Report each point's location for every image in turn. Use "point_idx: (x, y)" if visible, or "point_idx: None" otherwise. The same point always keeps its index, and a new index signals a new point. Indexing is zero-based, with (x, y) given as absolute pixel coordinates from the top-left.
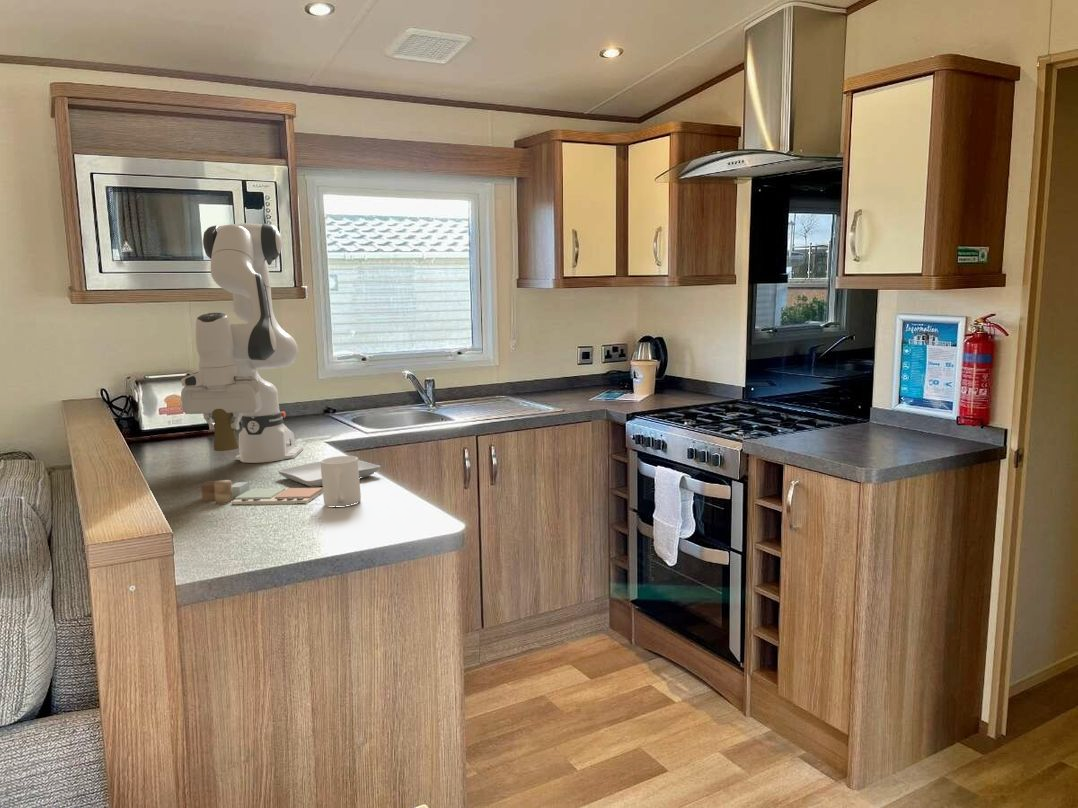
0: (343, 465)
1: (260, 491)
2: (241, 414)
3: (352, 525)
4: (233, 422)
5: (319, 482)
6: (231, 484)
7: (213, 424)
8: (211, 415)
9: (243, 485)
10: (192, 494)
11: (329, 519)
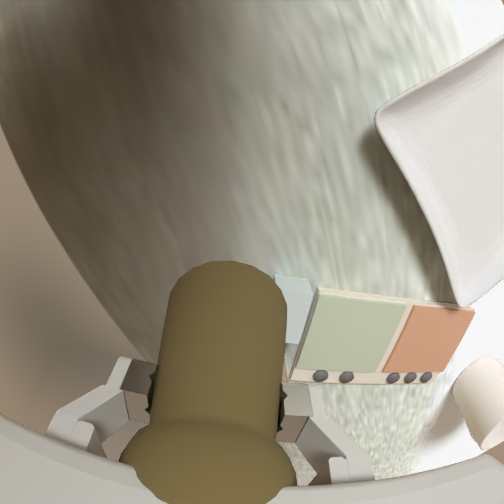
0: (499, 439)
1: (349, 326)
2: (363, 470)
3: (452, 442)
4: (284, 417)
5: (477, 288)
6: (286, 375)
7: (145, 419)
8: (96, 442)
9: (304, 322)
10: (136, 258)
11: (439, 432)
